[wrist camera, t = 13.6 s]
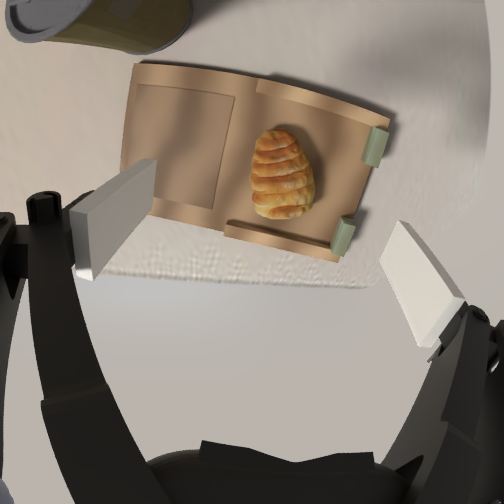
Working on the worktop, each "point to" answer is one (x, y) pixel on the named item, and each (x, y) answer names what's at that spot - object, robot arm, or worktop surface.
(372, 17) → the worktop surface
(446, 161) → the worktop surface
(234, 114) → the tan flat piece
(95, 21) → the canister
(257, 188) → the pastry
